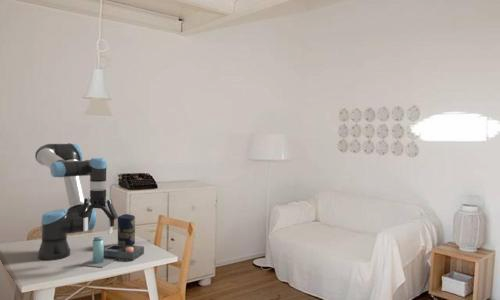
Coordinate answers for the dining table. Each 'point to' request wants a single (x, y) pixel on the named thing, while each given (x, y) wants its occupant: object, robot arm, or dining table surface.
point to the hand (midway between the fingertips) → (98, 231)
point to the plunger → (130, 249)
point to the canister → (126, 229)
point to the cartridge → (98, 250)
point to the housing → (123, 252)
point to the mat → (101, 265)
